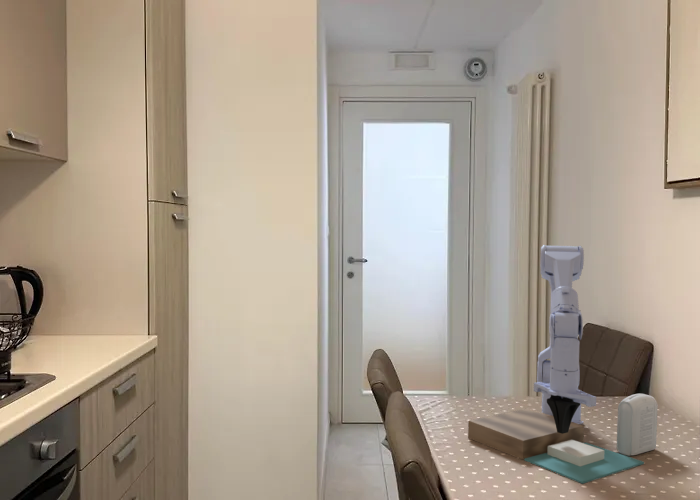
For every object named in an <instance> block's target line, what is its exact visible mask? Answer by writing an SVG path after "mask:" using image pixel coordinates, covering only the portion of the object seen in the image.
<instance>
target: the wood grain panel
mask: <svg viewBox="0 0 700 500" xmlns="http://www.w3.org/2000/svg"><path fill="white" fill-rule="evenodd" d="M467 424H468V427H467V429H468V430H467V431H468V433H467V439H469V440H473V441H475V442H477V443H479V444H482V445H484V446H487V447H490V448H492V449H495V450H497V451H499V452H503V453H505V454H507V455H510V456H512V457H515V458H518V459H519V460H524V459H525V458H529V457H532V456H536V455H540V454H544V453H547V452H548V446H549V445H553V444H557V443H560V442H564V441H568V440H575V441H578V442H581V443H585V442H584V440H585V425H583V424H577V423H574V422H571V424H570V427H569V431H568V433H563V434H561V433H558V432H557V429H556V424H555V420H554V417H553V416H551V415H548V414H545V413H542V411H540V410H539V411H538V410H535V409H531V408H529V407H527V408H523V409H517V410H513V411H508V412H504V413H499V414H492V415H488V416H484V417H479V418H475V419H469V420H468V423H467Z"/></svg>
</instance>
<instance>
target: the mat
mask: <svg viewBox="0 0 700 500" xmlns="http://www.w3.org/2000/svg"><path fill="white" fill-rule="evenodd" d="M584 444H587V445H590V446H593V447H596V448H599V449H602V450H604V459H603V460H599V461H596V462H593V463H590V464H586V465H583V466H577V465H575V464H572V463H569V462H567V461H564V460H561V459H559V458H556V457H553V456H550V455H548V454H547V453H544V454H540V455H536V456H532V457H529V458H525V459H524V461H525V462H528V463H529V462H530V463H529V464H533V465H534V464H535V465H534V466H538V467H539V466H540V468H542V469H544V468H545V470H547V469H548V470H547V471H549V470H551V471H550V472H552V471H553V472H552V473H554V472H556V473H555V474H557V473H558V474H557V475H559V474H560V475H559V476H562V477H564V476H565V477H564V478H567V479H570V480H572V481H575V482H577V483H579V484H586V483H588V482H592V481H596V480H598V479H602V478H604V477H608V476H611V475H613V474H614V475H615V474H617V473H620V472H623V471H626V470H630V469H632V468H636V467H640V466H641V465H644V464H645V461H644V460H640V459H636V458H633V457H631V456H628V455H624V454H621V453H619V452H617V451H613V450H609V449H607V448H604V447H601V446H597V445H596V444H592V443H590V442H584Z"/></svg>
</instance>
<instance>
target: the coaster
mask: <svg viewBox="0 0 700 500" xmlns="http://www.w3.org/2000/svg"><path fill="white" fill-rule="evenodd" d="M584 443H585V442H584ZM584 443H581V442H578V441H575V440H568V441H564V442H560V443H557V444H553V445H549V446H548V452H547V454H548V455H550V456H553V457H556V458H559V459H561V460H564V461H567V462H569V463H572V464H575V465H577V466H583V465H586V464H590V463H593V462H596V461H599V460H603V459H604V450H602V449H599V448H596V447H593V446H590V445H587V444H584Z"/></svg>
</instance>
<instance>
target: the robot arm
mask: <svg viewBox="0 0 700 500" xmlns="http://www.w3.org/2000/svg"><path fill="white" fill-rule="evenodd" d="M584 251H585V250H584V247H582V246H581V245H578V246H576V245H575V246H573V245H546V244H542V246H540V266H539V267H540V276H541V278H542V279H544V280H545V281H548V284H549V287H550V309H549V310H550V315H549V321H548V322H549V324H548V326H549V328H548V330H549V331H548V333H549V346H548V347H546V348H545V349H543V350H542V351H540V352H539V354H538V355H537V362H536V363H537V367H536V368H537V369H536V381H537V382H533V392H535V393H541V412H542V413H545V414H548V415H551V416H553V417H554V420H555V424H556V429H557V432H558V433H561V434H563V433H568V431H569V427H570V424H571V422H574V423H577V424H580V425H583V424H584V421H583V420H581V418H582V405H585V406H586V407H589V408H592V407H596V406H597V396H596V395H592V394H590V393H588V392H585V391H582V390H581V389H579V386H580V381H581V380H580V369H581V368H580V343H581V342H580V341H581V340H582V338H583V333H584V332H583V331H584V327H583V326H584V323H583V322H584V321H583V320H584V319H583V315H582V312H581V310H580V307H579V296H578V295H579V294H578V292H577V291H576V290H575V289H574V288H573V282H575V281H577V280H579V279H580V277H581V276H582V271H583V269H584V261H585V254H584ZM578 338H579V339H578Z"/></svg>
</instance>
